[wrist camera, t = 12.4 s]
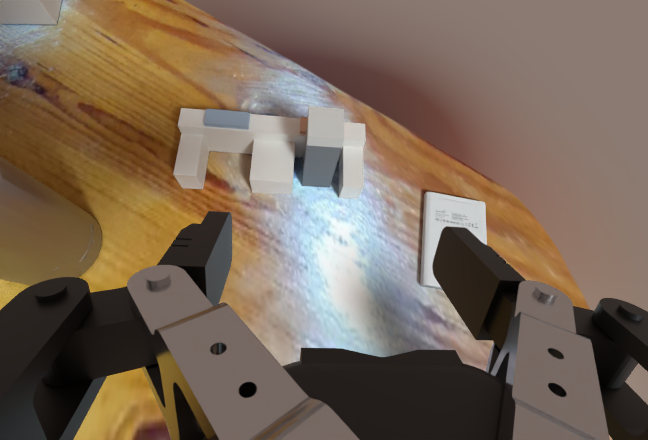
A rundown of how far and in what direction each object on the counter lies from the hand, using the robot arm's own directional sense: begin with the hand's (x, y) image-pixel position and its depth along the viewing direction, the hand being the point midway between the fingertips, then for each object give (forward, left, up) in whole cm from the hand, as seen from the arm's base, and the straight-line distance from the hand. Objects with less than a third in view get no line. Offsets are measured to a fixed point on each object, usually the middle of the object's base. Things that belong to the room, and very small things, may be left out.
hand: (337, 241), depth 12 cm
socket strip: (-4, +18, -26) cm, 32 cm away
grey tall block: (+1, +17, -26) cm, 31 cm away
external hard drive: (+19, +8, -27) cm, 34 cm away
